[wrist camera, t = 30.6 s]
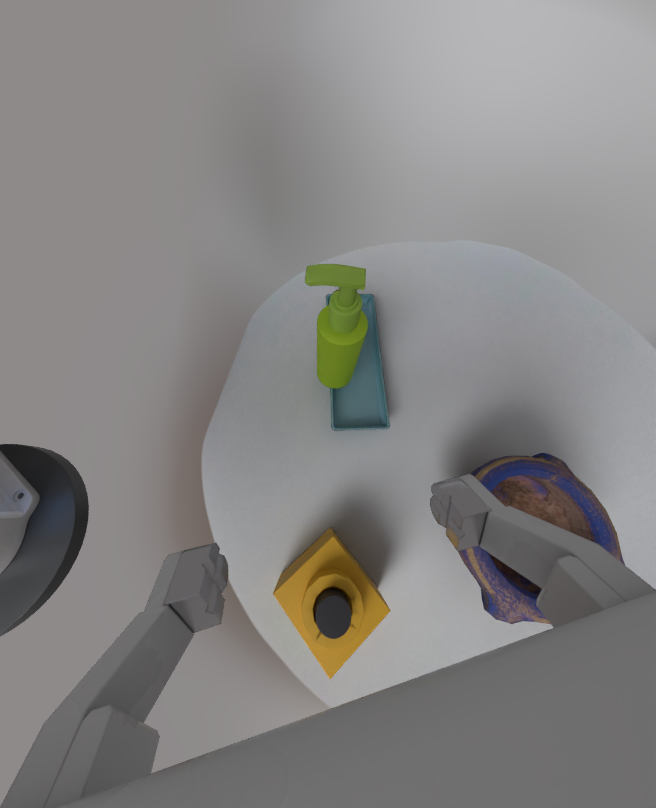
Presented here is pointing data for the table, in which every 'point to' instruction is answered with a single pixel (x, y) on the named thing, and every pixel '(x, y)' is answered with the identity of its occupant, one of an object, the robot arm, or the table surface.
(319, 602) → the black cylinder
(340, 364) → the soap dispenser
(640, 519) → the table surface
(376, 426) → the rectangular tray
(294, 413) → the table surface
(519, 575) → the bowl
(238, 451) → the table surface
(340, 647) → the yellow push button box
